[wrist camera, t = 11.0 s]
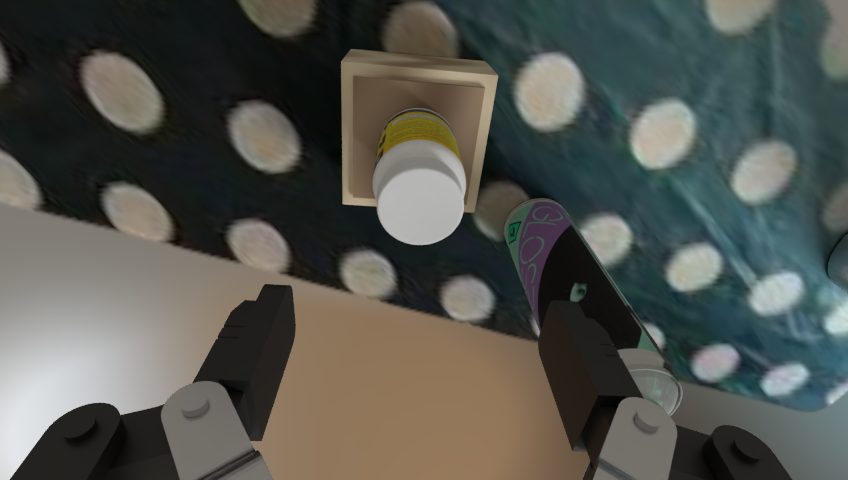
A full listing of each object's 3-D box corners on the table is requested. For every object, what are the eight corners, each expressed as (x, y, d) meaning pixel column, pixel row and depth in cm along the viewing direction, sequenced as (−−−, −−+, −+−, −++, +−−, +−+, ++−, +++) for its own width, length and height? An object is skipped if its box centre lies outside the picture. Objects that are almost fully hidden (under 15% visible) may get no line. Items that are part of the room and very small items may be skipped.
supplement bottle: (372, 111, 25) (358, 165, 18) (451, 101, 25) (469, 150, 18) (386, 185, 27) (378, 258, 20) (458, 176, 27) (476, 246, 20)
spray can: (528, 186, 34) (652, 398, 17) (581, 215, 35) (743, 435, 18) (490, 238, 36) (564, 468, 19) (541, 262, 38) (651, 495, 21)
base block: (484, 61, 29) (499, 76, 24) (465, 182, 33) (475, 214, 29) (351, 48, 28) (340, 62, 23) (351, 174, 33) (342, 206, 28)
